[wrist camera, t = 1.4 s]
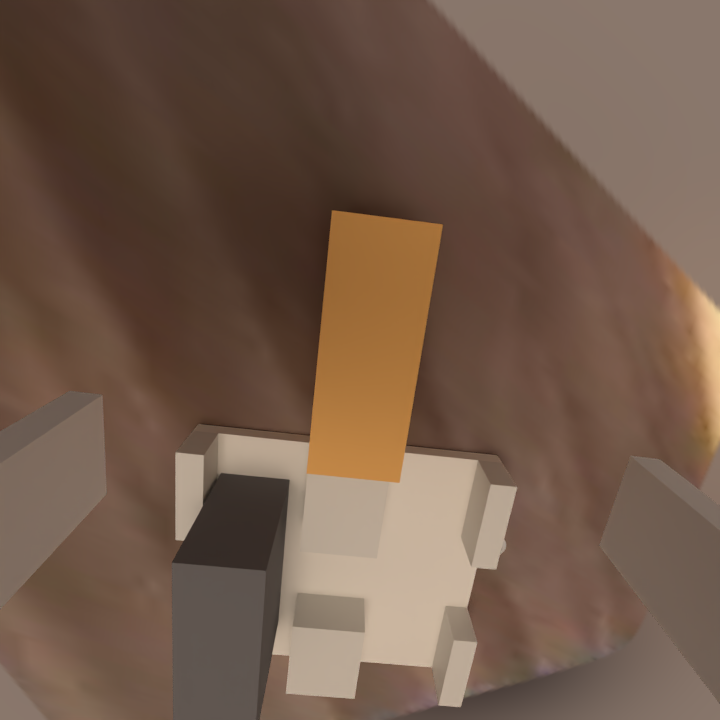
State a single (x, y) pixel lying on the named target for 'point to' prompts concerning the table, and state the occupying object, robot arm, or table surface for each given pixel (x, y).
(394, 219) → the tall orange brick
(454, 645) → the rack
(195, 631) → the dark gray brick
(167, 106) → the table surface
